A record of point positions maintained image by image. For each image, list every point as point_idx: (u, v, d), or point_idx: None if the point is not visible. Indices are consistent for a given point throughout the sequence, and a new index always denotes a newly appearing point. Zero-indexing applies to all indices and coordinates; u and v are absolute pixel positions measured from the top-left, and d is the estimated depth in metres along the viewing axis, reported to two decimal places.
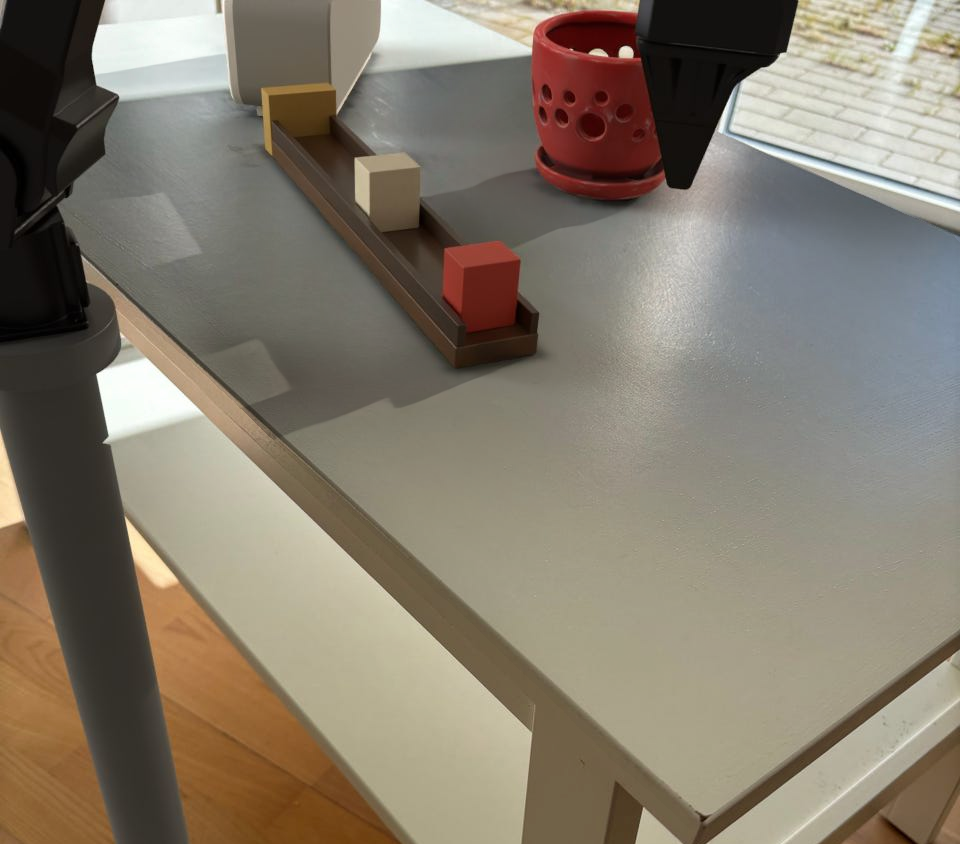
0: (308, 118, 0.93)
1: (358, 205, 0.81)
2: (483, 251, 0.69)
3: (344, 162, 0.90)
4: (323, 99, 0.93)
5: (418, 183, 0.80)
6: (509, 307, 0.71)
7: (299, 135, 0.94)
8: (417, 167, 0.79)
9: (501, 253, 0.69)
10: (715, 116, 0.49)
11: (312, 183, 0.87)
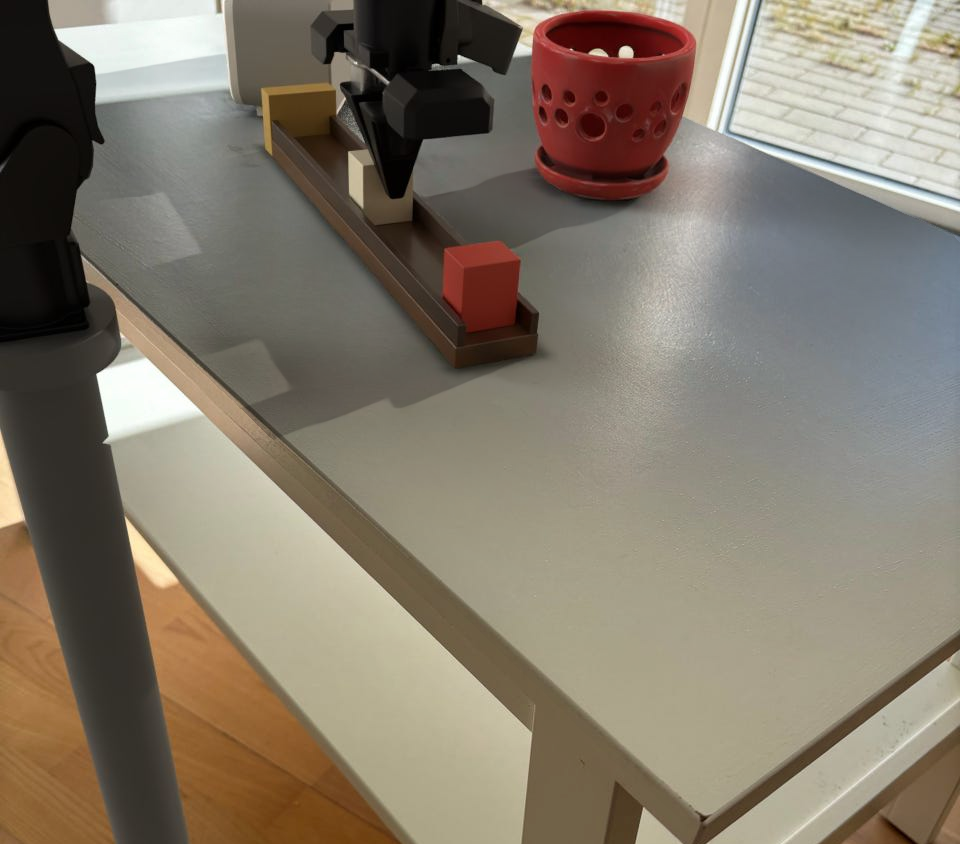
0: (308, 118, 0.93)
1: (352, 198, 0.82)
2: (483, 251, 0.69)
3: (344, 162, 0.90)
4: (323, 99, 0.93)
5: (411, 176, 0.80)
6: (509, 307, 0.71)
7: (299, 135, 0.94)
8: None
9: (501, 253, 0.69)
10: (416, 149, 0.76)
11: (312, 183, 0.87)
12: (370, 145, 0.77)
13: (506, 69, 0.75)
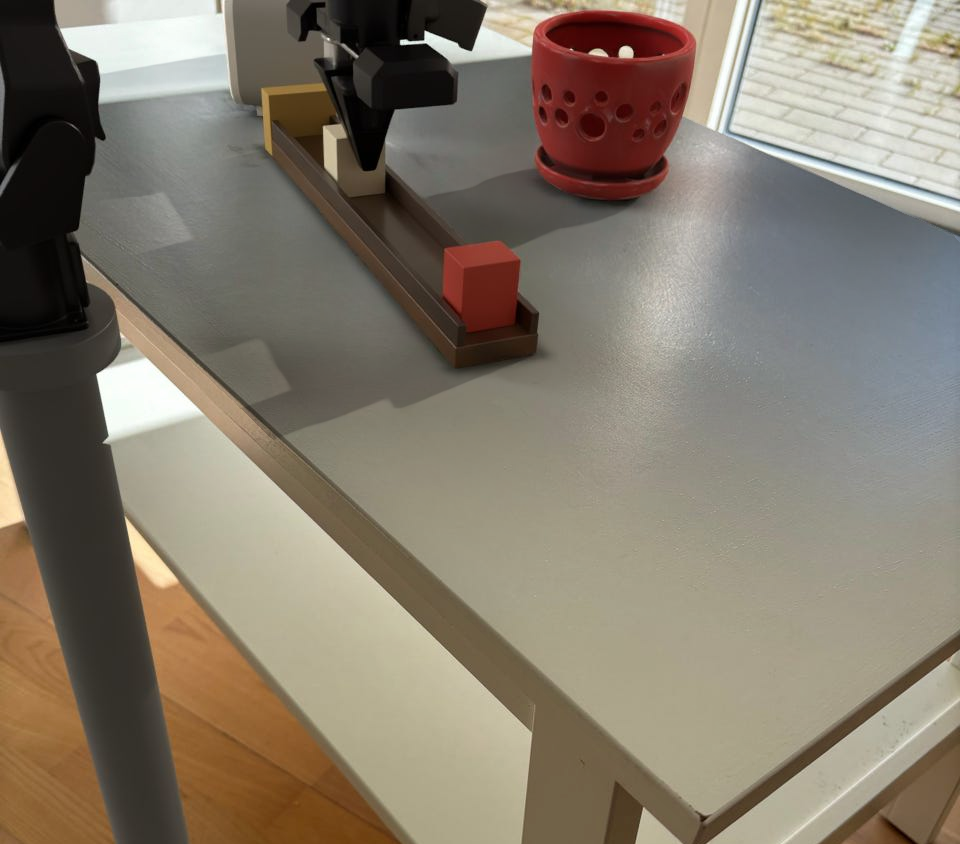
0: (308, 118, 0.93)
1: (327, 171, 0.85)
2: (483, 251, 0.69)
3: None
4: (323, 99, 0.93)
5: (383, 150, 0.84)
6: (509, 307, 0.71)
7: (299, 135, 0.94)
8: None
9: (501, 253, 0.69)
10: (387, 123, 0.80)
11: (312, 183, 0.87)
12: (343, 119, 0.80)
13: (472, 45, 0.78)
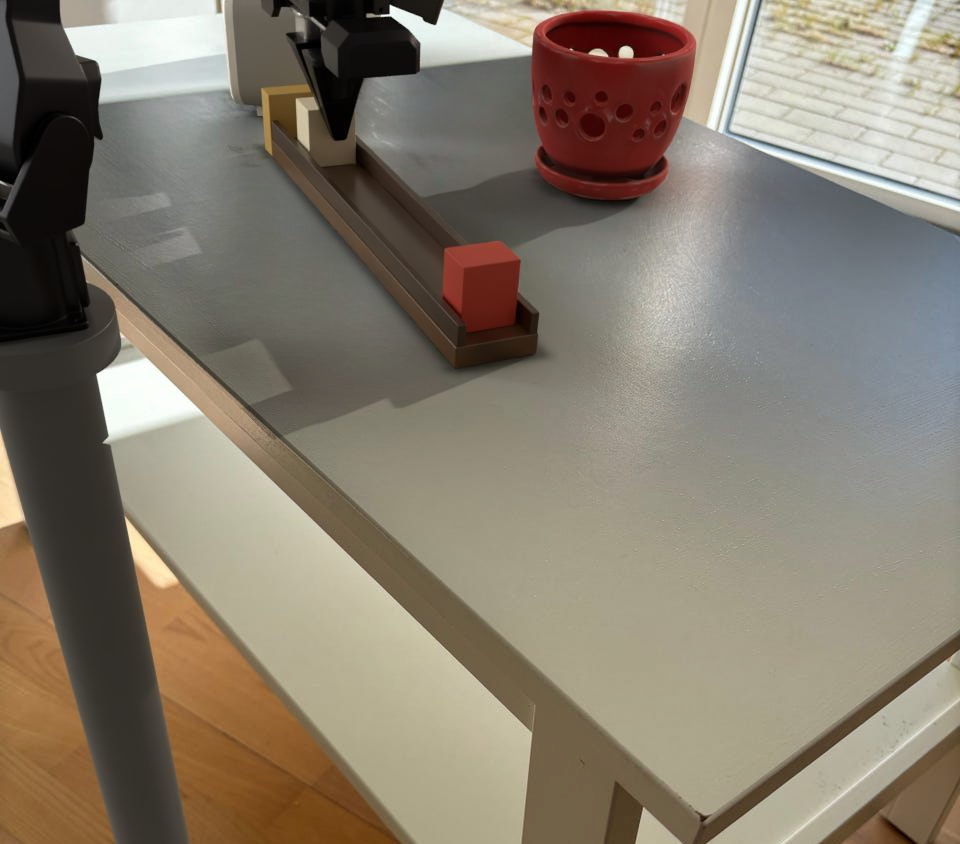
0: None
1: (300, 142, 0.90)
2: (483, 251, 0.69)
3: None
4: None
5: (353, 121, 0.88)
6: (509, 307, 0.71)
7: None
8: None
9: (501, 253, 0.69)
10: (356, 94, 0.84)
11: (312, 183, 0.87)
12: (314, 90, 0.84)
13: (436, 19, 0.82)
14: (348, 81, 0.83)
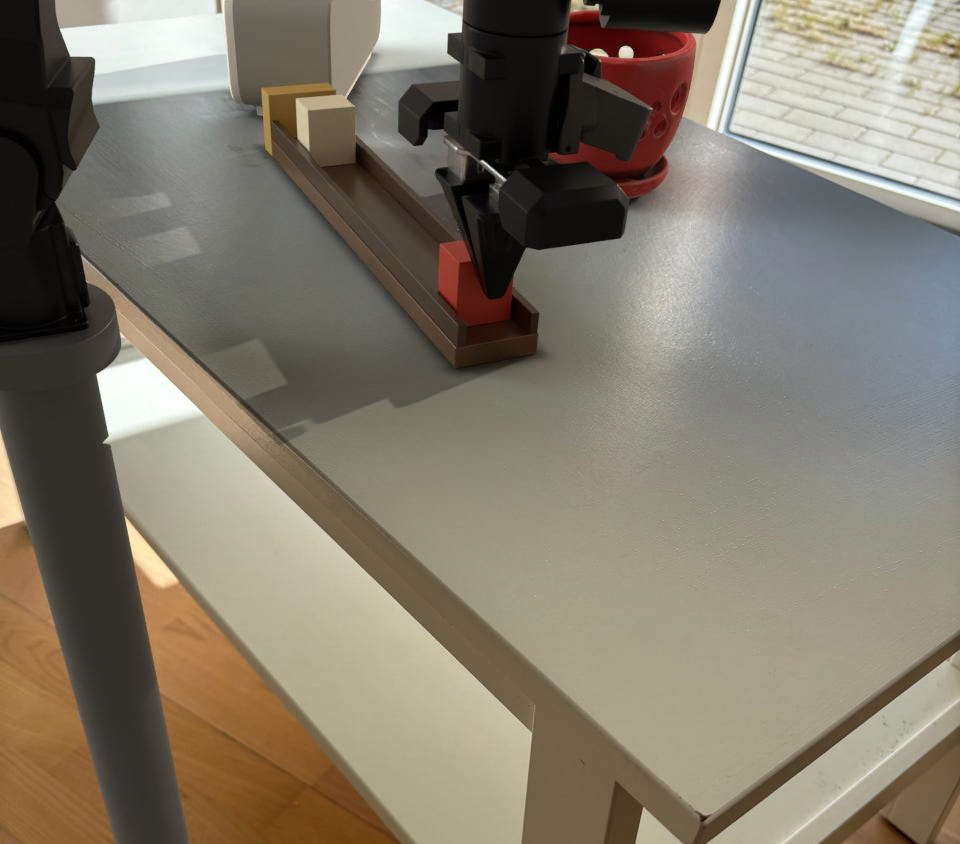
0: None
1: (300, 142, 0.90)
2: None
3: None
4: None
5: (353, 121, 0.88)
6: (504, 302, 0.71)
7: None
8: (352, 106, 0.87)
9: None
10: (523, 246, 0.66)
11: (312, 183, 0.87)
12: (469, 241, 0.66)
13: (631, 155, 0.64)
14: None
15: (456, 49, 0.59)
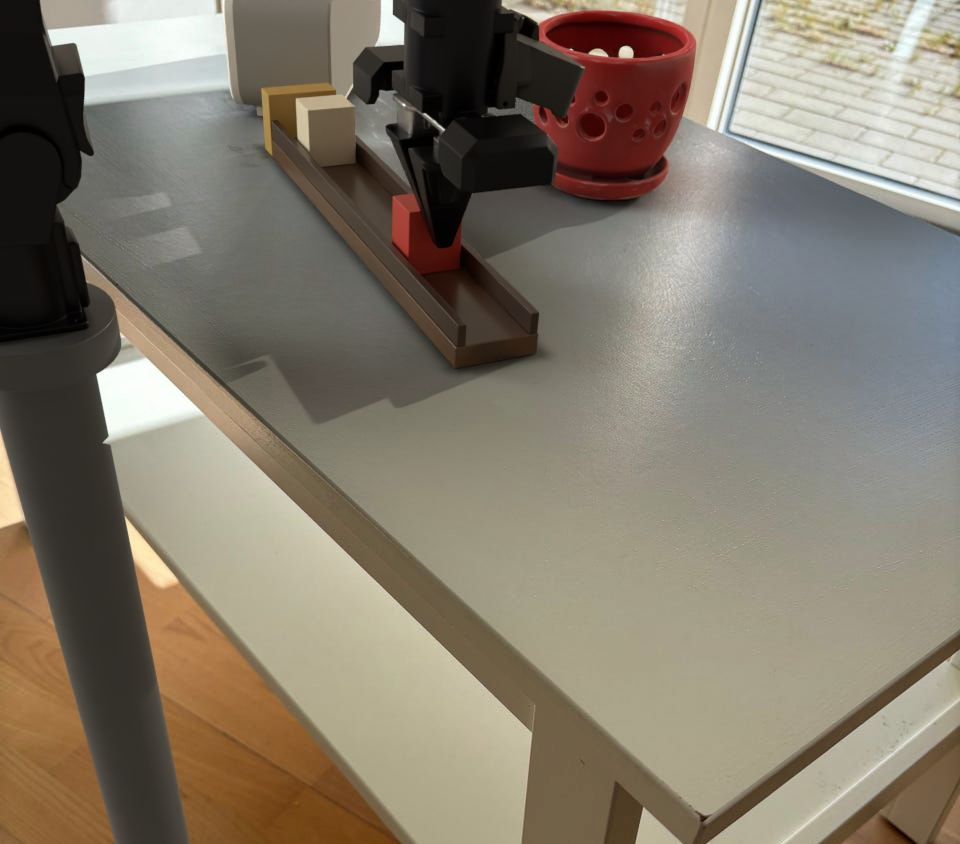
0: None
1: (300, 142, 0.90)
2: None
3: None
4: None
5: (353, 121, 0.88)
6: (453, 251, 0.76)
7: None
8: (352, 106, 0.87)
9: None
10: (468, 197, 0.71)
11: (312, 183, 0.87)
12: (417, 192, 0.71)
13: (566, 111, 0.69)
14: None
15: (400, 10, 0.64)
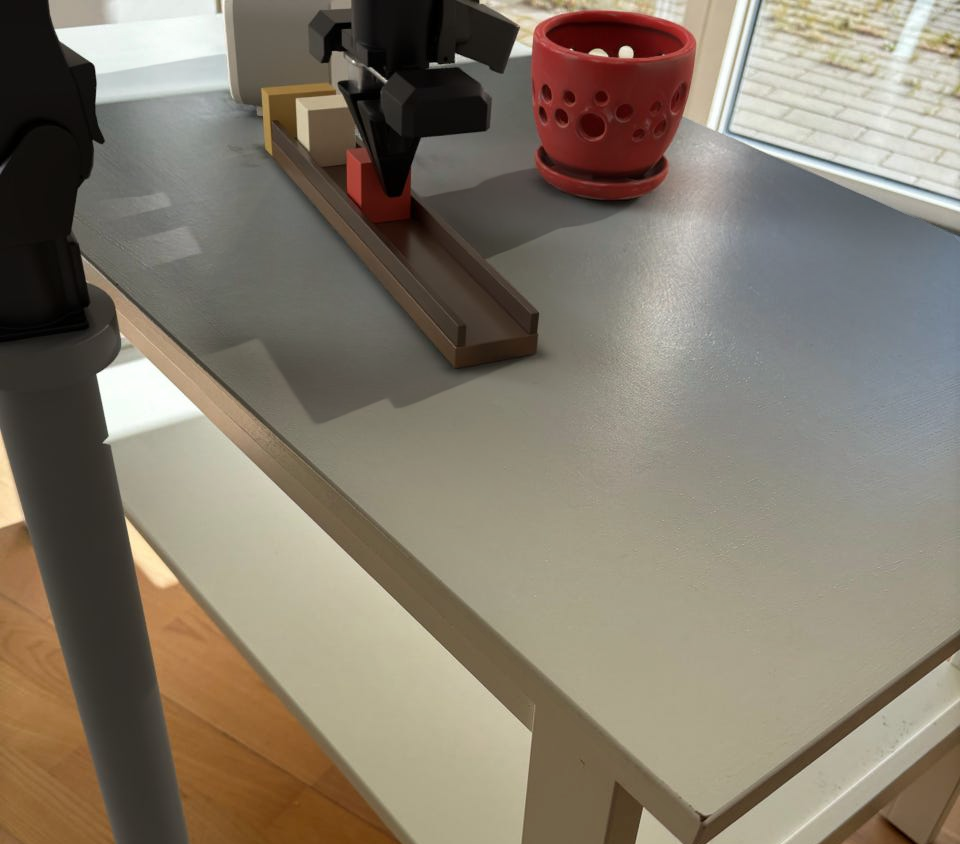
0: None
1: (300, 142, 0.90)
2: None
3: None
4: None
5: (353, 121, 0.88)
6: (404, 202, 0.82)
7: None
8: None
9: None
10: (414, 148, 0.77)
11: (312, 183, 0.87)
12: (368, 143, 0.77)
13: (503, 68, 0.75)
14: None
15: None
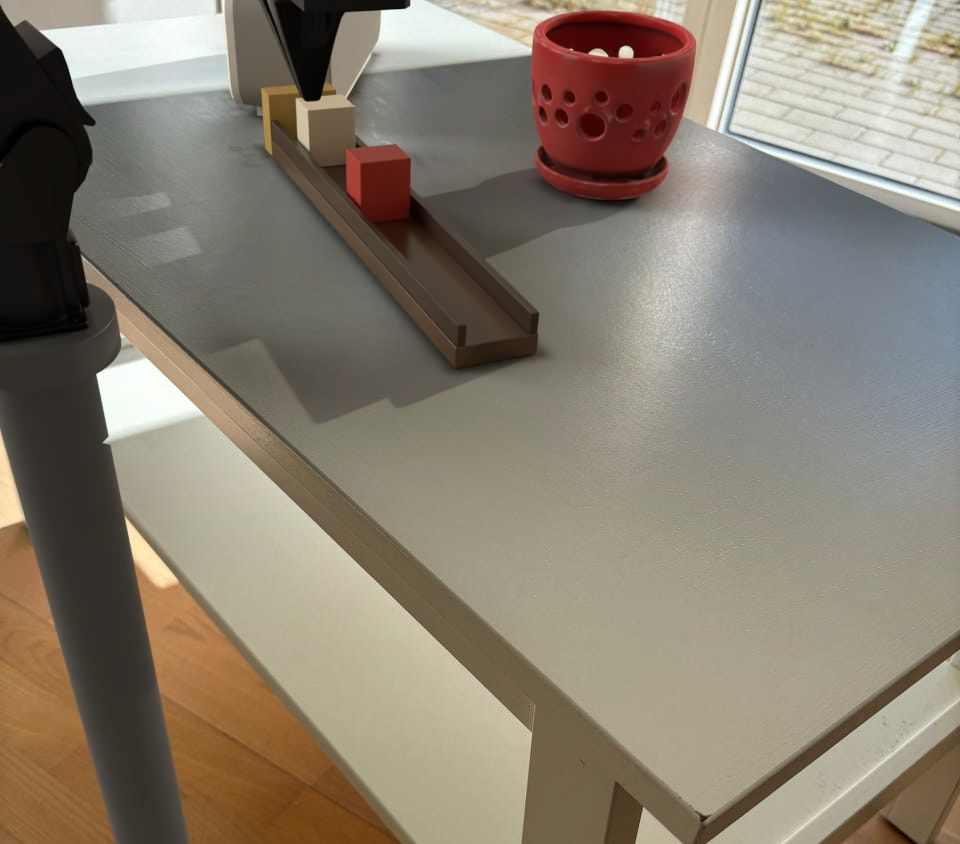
0: None
1: (300, 142, 0.90)
2: (379, 151, 0.80)
3: None
4: None
5: (353, 121, 0.88)
6: (403, 201, 0.82)
7: None
8: (352, 106, 0.87)
9: (394, 152, 0.80)
10: (331, 41, 0.67)
11: (312, 183, 0.87)
12: (278, 36, 0.67)
13: None
14: (321, 24, 0.66)
15: None
